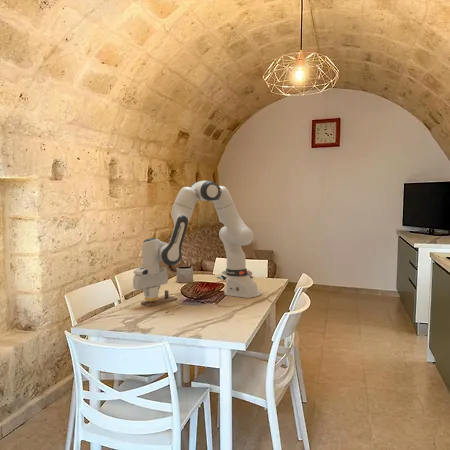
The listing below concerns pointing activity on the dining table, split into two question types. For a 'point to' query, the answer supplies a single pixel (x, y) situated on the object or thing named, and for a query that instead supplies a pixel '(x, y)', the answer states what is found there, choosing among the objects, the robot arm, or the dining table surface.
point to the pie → (226, 275)
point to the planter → (184, 274)
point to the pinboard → (160, 300)
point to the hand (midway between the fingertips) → (151, 295)
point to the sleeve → (152, 293)
